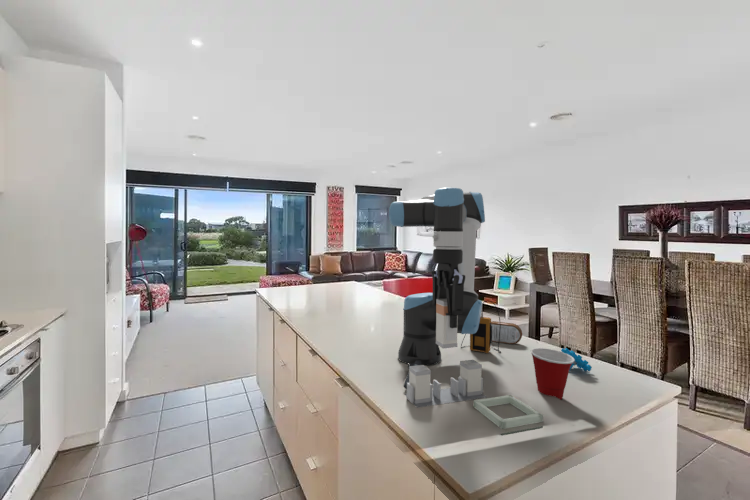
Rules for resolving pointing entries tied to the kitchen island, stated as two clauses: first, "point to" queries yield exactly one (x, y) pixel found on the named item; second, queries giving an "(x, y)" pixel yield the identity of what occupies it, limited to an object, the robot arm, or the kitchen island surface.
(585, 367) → the blue knobby plastic piece
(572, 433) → the kitchen island surface
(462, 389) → the block
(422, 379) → the grey block
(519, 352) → the kitchen island surface
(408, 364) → the can opener
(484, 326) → the multimeter
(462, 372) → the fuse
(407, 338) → the robot arm
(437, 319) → the block
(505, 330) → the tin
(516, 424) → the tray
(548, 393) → the plastic cup
